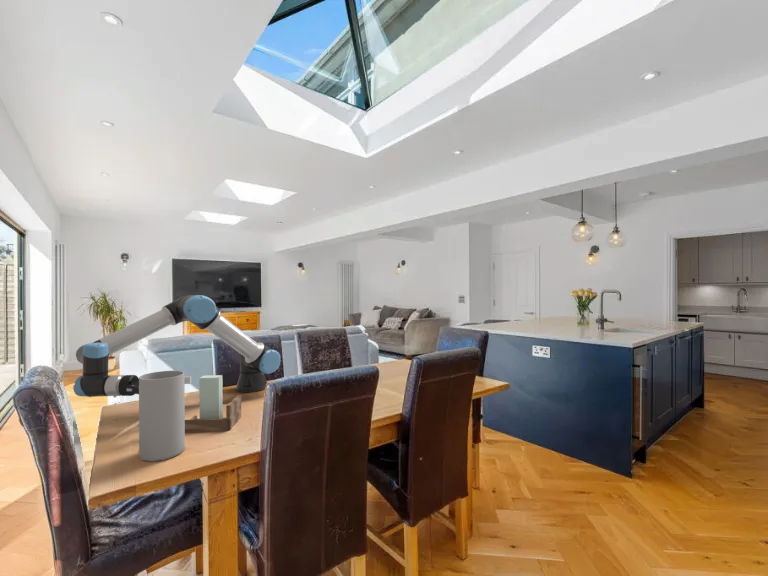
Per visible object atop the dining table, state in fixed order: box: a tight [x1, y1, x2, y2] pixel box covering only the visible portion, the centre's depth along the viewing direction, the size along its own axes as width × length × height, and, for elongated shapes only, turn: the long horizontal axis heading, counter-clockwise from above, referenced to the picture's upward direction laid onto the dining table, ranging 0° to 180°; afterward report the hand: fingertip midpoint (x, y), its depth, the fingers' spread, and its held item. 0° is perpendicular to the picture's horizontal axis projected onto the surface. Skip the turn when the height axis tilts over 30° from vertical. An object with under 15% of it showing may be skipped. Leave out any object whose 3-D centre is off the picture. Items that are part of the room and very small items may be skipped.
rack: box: [185, 394, 242, 433], centre depth 142 cm, size 14×18×10 cm
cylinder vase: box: [138, 370, 186, 462], centre depth 120 cm, size 12×12×25 cm
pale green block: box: [198, 374, 224, 419], centre depth 142 cm, size 4×7×18 cm, turn 95°
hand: (183, 384), depth 141 cm, fingers open, 13 cm apart
